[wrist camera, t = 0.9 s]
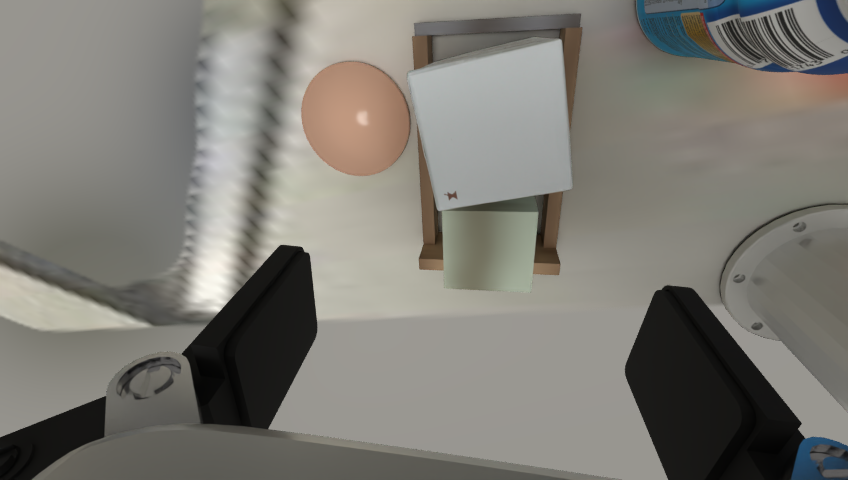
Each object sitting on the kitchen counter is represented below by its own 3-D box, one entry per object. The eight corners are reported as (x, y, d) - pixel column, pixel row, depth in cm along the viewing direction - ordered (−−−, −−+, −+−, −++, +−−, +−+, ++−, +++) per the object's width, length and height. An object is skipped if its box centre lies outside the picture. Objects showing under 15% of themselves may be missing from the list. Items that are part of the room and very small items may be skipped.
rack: (576, 14, 27) (610, 7, 19) (551, 244, 35) (567, 306, 27) (417, 23, 29) (389, 20, 21) (428, 241, 37) (410, 298, 29)
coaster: (406, 58, 30) (404, 59, 29) (413, 173, 34) (412, 175, 34) (294, 63, 31) (291, 64, 31) (314, 173, 36) (312, 175, 35)
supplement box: (546, 137, 31) (575, 195, 20) (453, 153, 33) (433, 215, 22) (538, 33, 28) (567, 35, 17) (435, 57, 30) (401, 73, 19)
